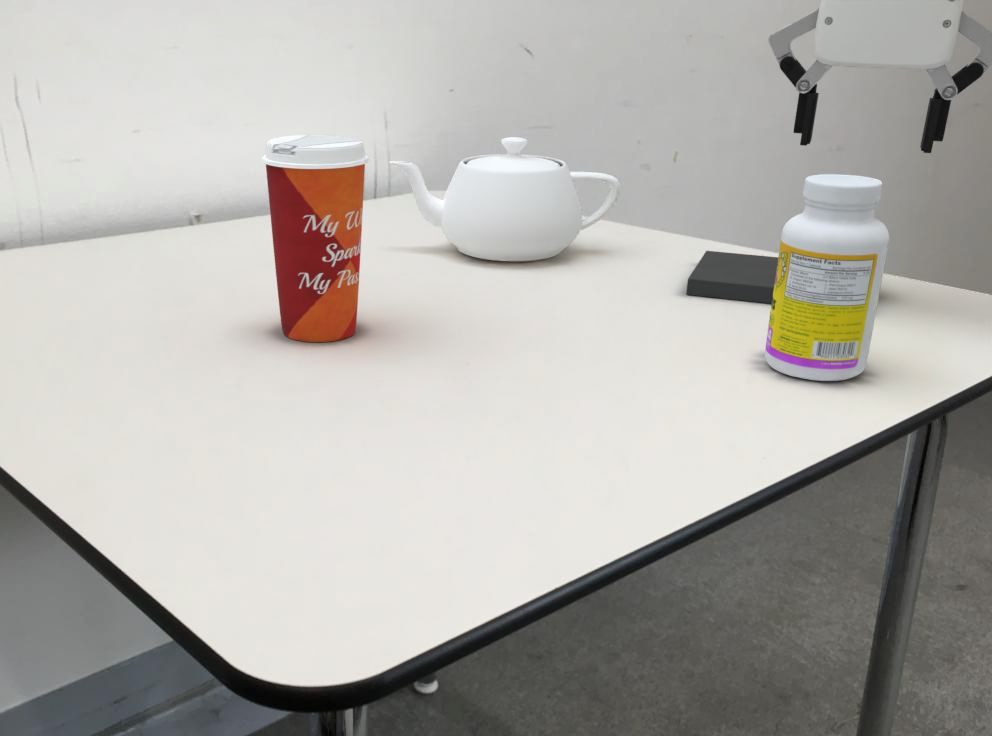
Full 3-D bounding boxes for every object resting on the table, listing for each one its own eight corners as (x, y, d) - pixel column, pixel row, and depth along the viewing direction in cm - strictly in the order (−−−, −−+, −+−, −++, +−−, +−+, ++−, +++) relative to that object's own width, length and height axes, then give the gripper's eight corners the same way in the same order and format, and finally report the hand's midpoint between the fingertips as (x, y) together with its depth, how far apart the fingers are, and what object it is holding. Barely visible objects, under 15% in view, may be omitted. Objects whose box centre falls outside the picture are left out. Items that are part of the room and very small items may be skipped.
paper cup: (324, 353, 78) (320, 152, 72) (246, 333, 82) (237, 141, 76) (391, 328, 83) (392, 139, 78) (315, 310, 88) (311, 130, 82)
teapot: (604, 237, 112) (613, 128, 108) (626, 270, 100) (637, 150, 95) (390, 234, 113) (391, 126, 109) (385, 267, 100) (386, 147, 96)
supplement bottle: (792, 346, 80) (820, 167, 75) (881, 368, 75) (918, 180, 70) (744, 366, 76) (770, 178, 70) (835, 391, 71) (871, 193, 66)
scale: (877, 282, 97) (883, 248, 95) (876, 315, 87) (883, 278, 86) (704, 265, 102) (708, 233, 101) (685, 294, 93) (690, 259, 91)
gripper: (1033, -92, 81) (980, 147, 88) (787, -90, 87) (756, 134, 94) (1045, -98, 75) (988, 161, 82) (780, -95, 81) (747, 146, 88)
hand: (864, 146), depth 88 cm, fingers open, 8 cm apart
